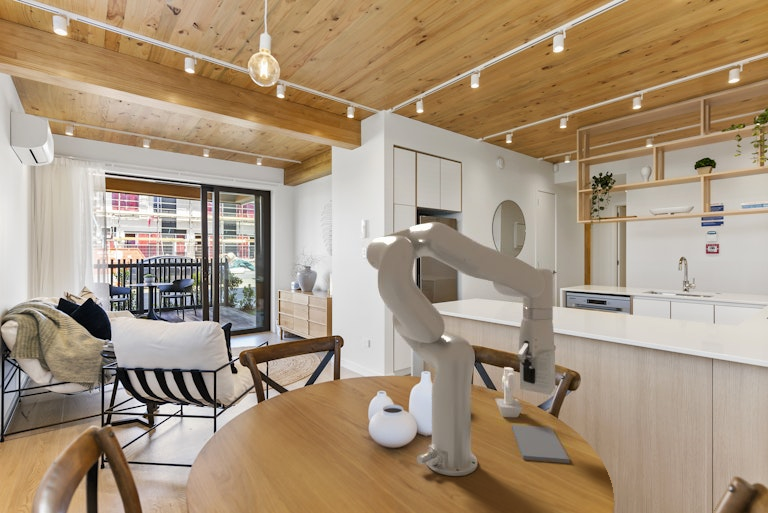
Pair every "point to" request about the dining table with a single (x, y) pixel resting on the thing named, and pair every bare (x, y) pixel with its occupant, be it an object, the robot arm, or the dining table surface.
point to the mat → (539, 444)
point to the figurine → (509, 395)
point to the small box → (541, 374)
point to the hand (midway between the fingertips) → (537, 379)
